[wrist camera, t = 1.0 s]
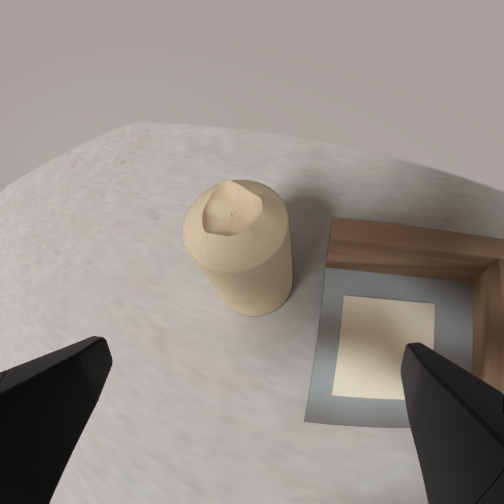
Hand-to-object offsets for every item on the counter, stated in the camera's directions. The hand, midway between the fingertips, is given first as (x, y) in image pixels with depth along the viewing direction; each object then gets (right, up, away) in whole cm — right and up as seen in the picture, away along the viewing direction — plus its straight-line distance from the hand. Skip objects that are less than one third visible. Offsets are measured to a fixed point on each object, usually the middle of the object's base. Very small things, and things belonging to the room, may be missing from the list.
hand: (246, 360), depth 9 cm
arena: (+11, -3, +12) cm, 17 cm away
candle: (0, +1, +16) cm, 16 cm away
